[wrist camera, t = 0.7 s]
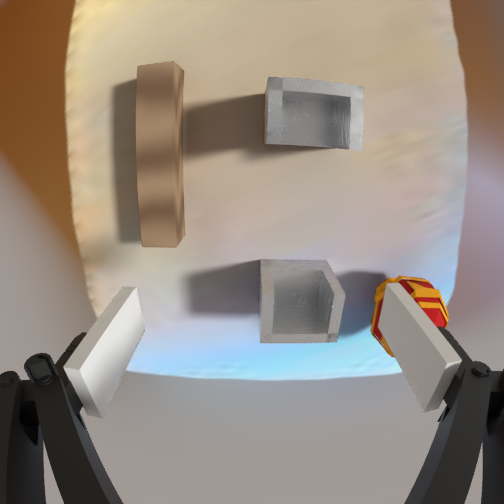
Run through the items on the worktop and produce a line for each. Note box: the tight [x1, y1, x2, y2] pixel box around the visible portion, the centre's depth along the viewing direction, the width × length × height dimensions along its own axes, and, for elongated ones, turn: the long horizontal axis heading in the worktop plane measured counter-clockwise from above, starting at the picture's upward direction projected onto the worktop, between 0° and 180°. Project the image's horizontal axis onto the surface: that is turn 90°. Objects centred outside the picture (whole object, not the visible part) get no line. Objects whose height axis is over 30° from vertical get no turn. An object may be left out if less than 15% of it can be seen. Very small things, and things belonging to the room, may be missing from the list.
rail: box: [136, 61, 185, 248], centre depth 31 cm, size 20×4×5 cm, turn 179°
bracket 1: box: [264, 77, 364, 151], centre depth 28 cm, size 6×8×9 cm
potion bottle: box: [371, 276, 449, 357], centre depth 33 cm, size 10×10×15 cm
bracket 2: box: [259, 259, 346, 343], centre depth 35 cm, size 6×8×9 cm
